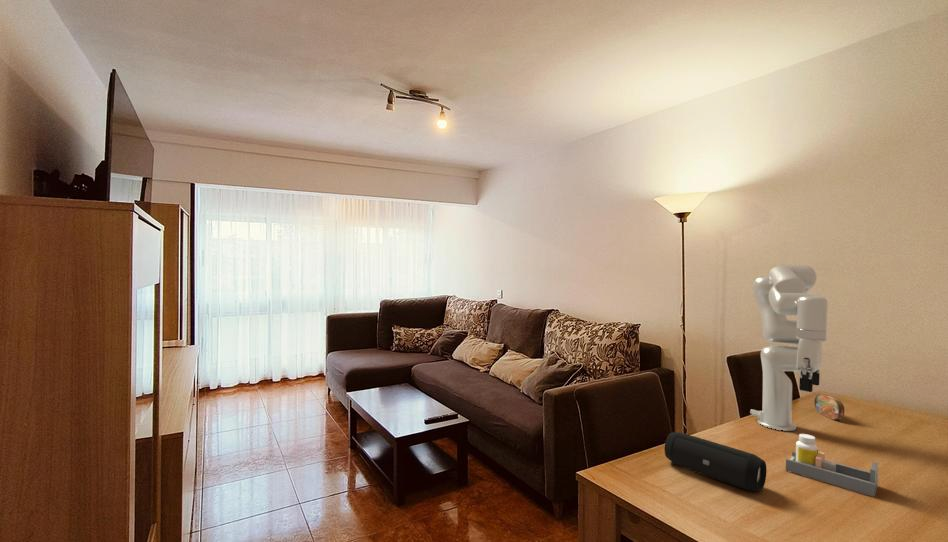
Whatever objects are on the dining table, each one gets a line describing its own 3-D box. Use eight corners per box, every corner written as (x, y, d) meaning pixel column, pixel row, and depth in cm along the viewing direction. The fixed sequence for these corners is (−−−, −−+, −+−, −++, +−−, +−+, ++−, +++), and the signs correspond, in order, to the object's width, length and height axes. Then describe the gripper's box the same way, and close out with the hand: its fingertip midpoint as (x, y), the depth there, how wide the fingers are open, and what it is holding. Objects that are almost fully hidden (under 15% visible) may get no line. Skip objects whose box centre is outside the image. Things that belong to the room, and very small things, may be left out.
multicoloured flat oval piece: (813, 410, 189) (813, 391, 189) (821, 410, 188) (821, 391, 188) (837, 422, 174) (837, 402, 174) (846, 423, 174) (846, 402, 173)
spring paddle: (815, 473, 128) (815, 457, 127) (819, 466, 132) (819, 451, 132) (833, 478, 124) (833, 462, 124) (837, 471, 129) (837, 456, 129)
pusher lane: (785, 470, 132) (786, 448, 132) (792, 462, 138) (793, 440, 138) (874, 497, 117) (874, 471, 117) (877, 486, 123) (878, 461, 123)
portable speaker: (662, 465, 135) (663, 434, 135) (677, 456, 141) (677, 426, 141) (755, 499, 115) (756, 463, 115) (767, 487, 122) (768, 452, 122)
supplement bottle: (821, 472, 129) (822, 440, 128) (801, 471, 130) (801, 438, 130) (811, 464, 134) (811, 433, 134) (791, 463, 135) (792, 432, 135)
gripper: (803, 329, 145) (801, 379, 146) (789, 336, 134) (788, 390, 134) (831, 332, 139) (829, 384, 140) (820, 340, 128) (818, 396, 129)
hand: (809, 387), depth 137 cm, fingers open, 9 cm apart
